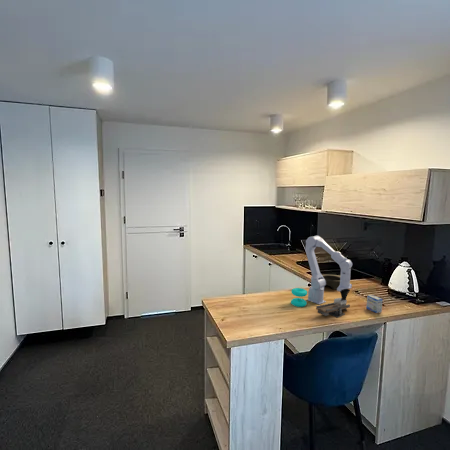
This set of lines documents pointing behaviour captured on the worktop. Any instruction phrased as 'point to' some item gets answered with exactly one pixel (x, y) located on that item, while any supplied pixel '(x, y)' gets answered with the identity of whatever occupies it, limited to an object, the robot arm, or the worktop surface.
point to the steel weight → (339, 302)
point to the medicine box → (374, 303)
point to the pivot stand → (337, 313)
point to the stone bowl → (332, 280)
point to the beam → (329, 308)
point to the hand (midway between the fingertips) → (343, 300)
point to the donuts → (299, 301)
